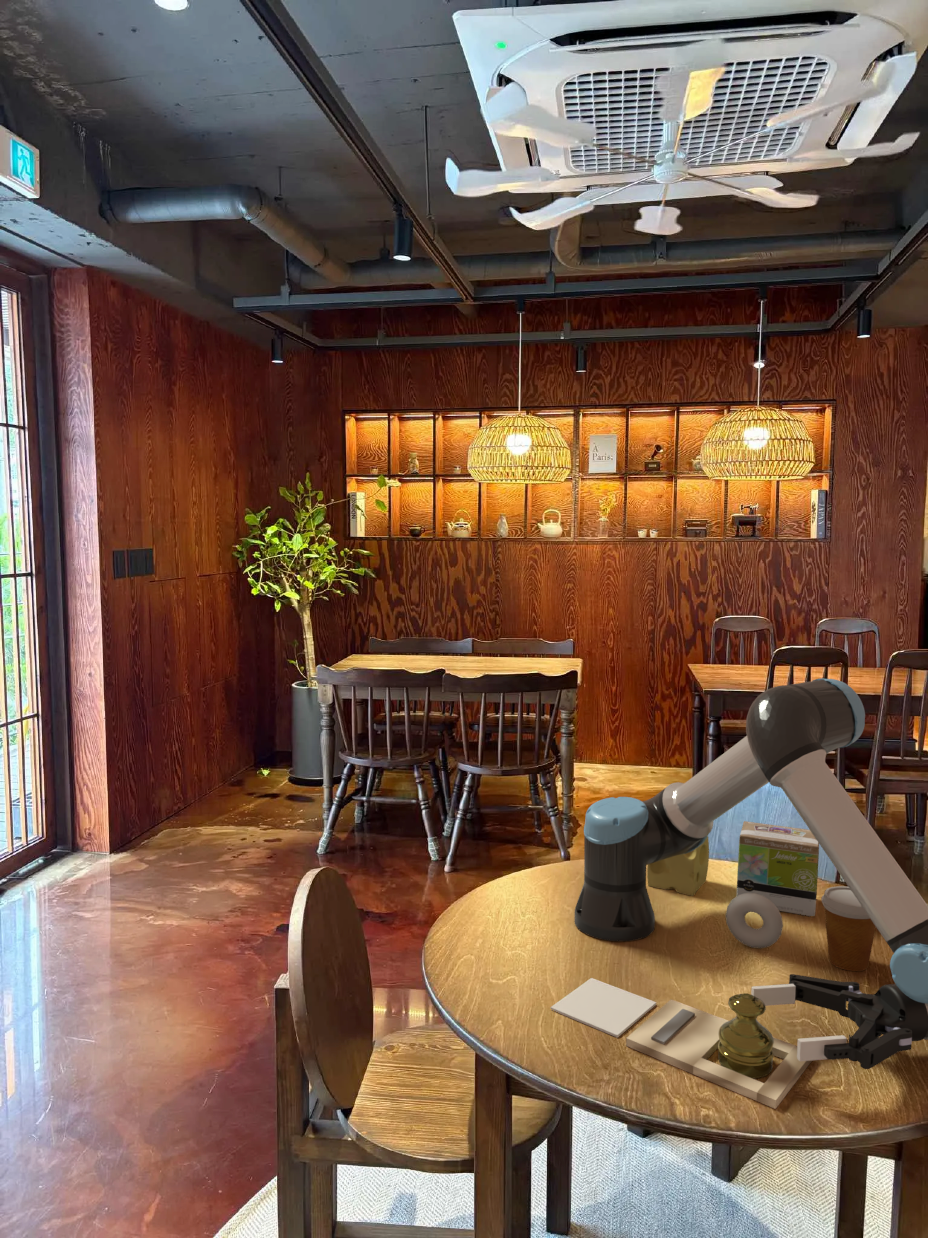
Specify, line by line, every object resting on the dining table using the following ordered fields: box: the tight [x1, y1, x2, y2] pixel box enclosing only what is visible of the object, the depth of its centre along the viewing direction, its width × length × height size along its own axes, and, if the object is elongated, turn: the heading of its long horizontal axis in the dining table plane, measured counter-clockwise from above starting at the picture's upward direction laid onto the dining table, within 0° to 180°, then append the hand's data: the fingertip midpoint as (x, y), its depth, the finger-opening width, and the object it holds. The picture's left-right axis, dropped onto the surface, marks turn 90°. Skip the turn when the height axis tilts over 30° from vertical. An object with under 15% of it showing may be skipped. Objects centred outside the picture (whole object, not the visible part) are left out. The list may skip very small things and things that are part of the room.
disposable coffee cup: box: [821, 885, 877, 972], centre depth 153 cm, size 10×10×12 cm
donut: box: [725, 893, 784, 949], centre depth 159 cm, size 10×4×10 cm, turn 59°
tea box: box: [736, 820, 820, 917], centre depth 178 cm, size 15×10×15 cm, turn 68°
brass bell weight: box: [717, 992, 774, 1079], centre depth 124 cm, size 7×7×10 cm
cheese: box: [646, 836, 710, 897], centre depth 188 cm, size 10×11×10 cm
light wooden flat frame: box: [625, 998, 813, 1110], centre depth 127 cm, size 22×14×2 cm, turn 50°
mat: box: [550, 977, 657, 1038], centre depth 139 cm, size 12×12×1 cm
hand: (773, 1022), depth 123 cm, fingers open, 13 cm apart
